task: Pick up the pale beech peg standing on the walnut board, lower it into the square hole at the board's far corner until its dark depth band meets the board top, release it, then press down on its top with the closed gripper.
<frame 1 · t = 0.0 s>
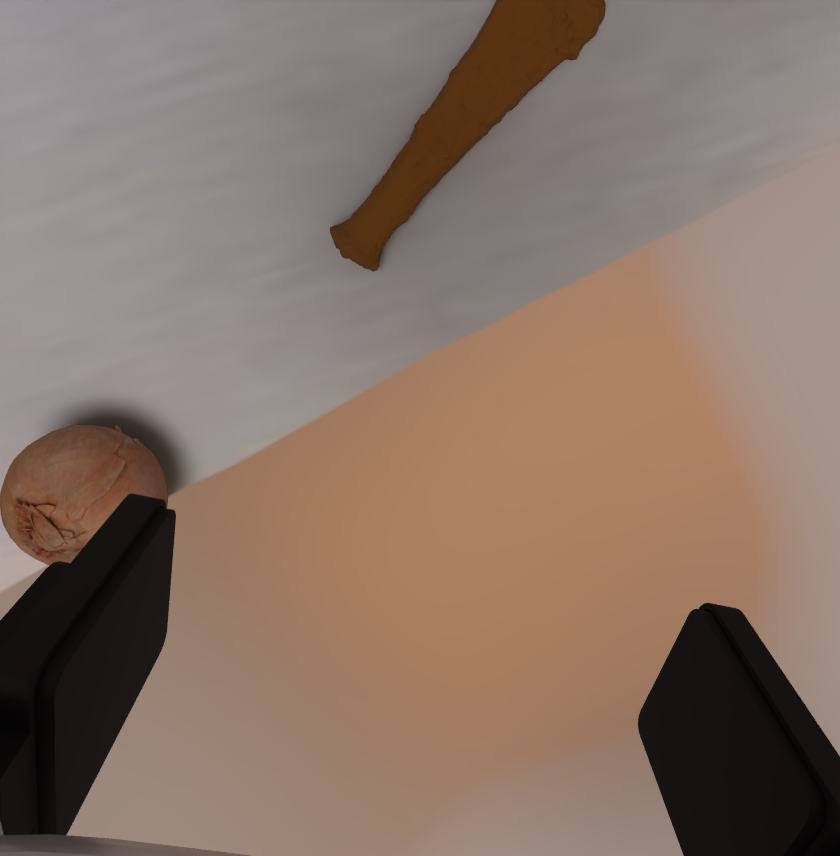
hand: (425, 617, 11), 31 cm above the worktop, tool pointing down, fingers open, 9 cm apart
primitive tool: (453, 115, 37), on the worktop
onion: (122, 461, 46), on the worktop
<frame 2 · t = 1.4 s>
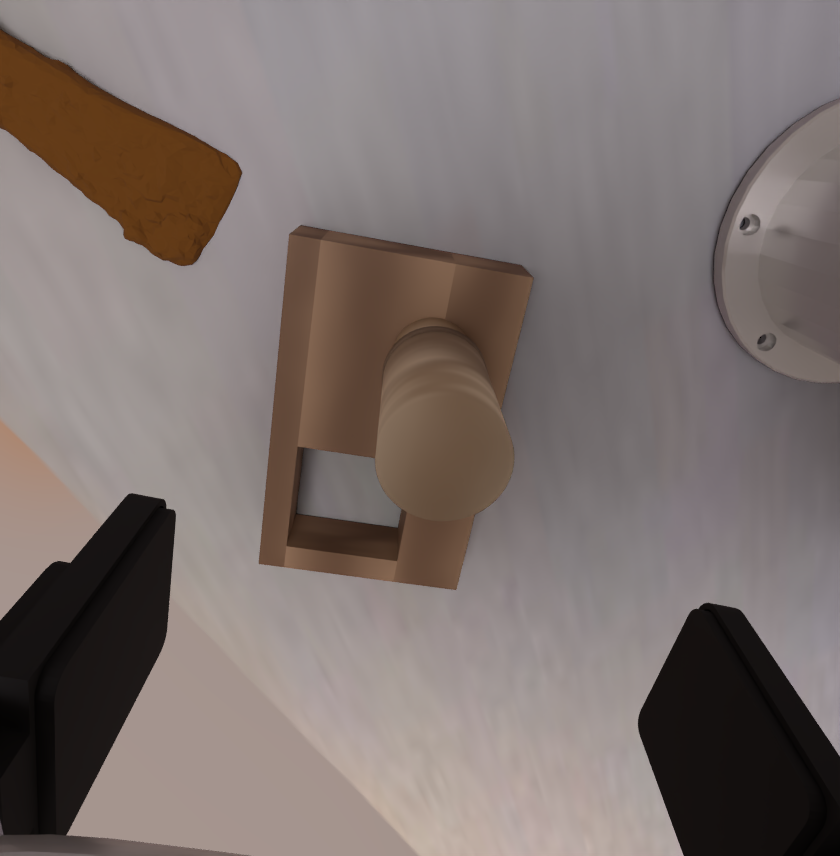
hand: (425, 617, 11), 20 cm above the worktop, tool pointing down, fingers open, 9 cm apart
peg: (431, 356, 28), point 3 cm above the worktop, touching board
primitive tool: (25, 76, 26), on the worktop
board: (385, 409, 32), on the worktop
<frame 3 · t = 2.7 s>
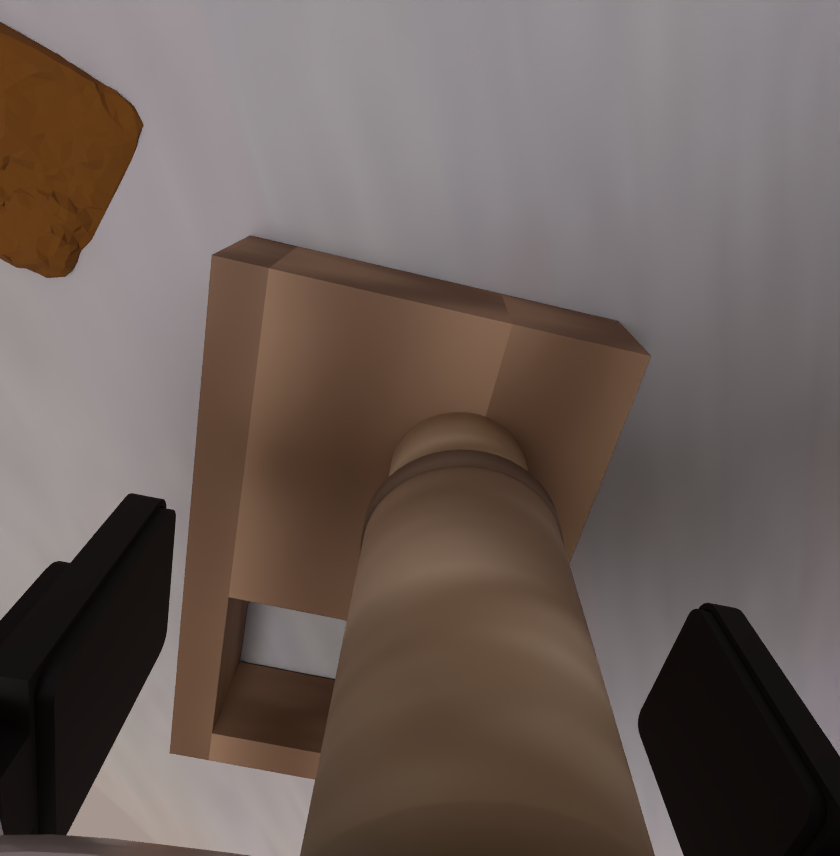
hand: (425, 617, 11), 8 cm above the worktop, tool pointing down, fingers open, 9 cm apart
peg: (458, 474, 16), point 3 cm above the worktop, touching board
board: (379, 527, 20), on the worktop
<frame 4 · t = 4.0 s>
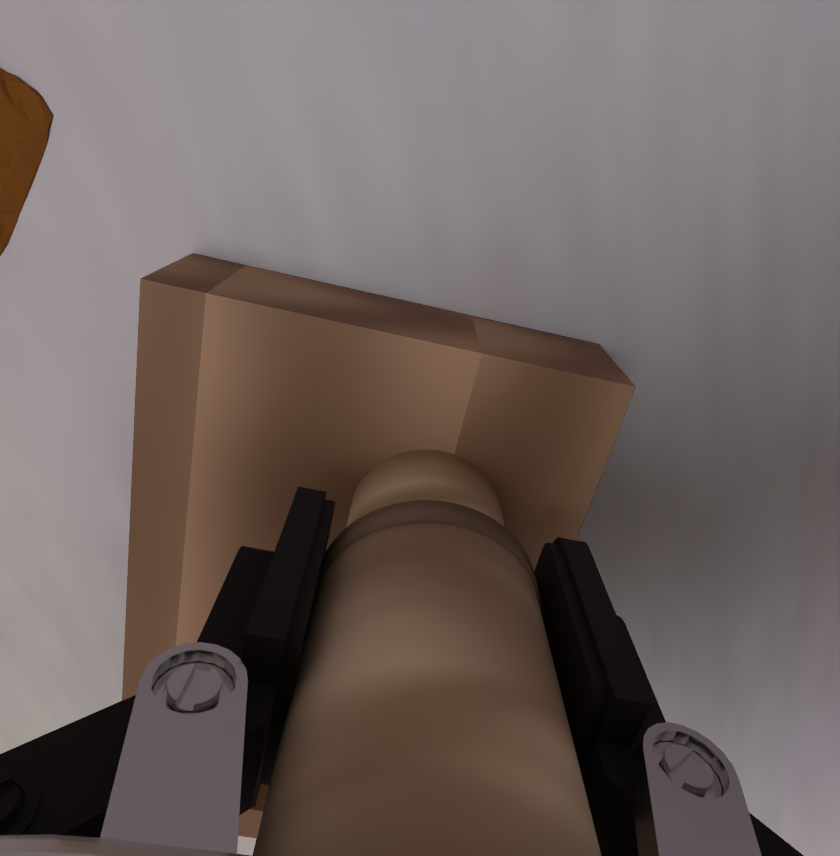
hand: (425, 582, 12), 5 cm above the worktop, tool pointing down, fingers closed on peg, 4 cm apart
peg: (425, 517, 14), point 3 cm above the worktop, touching board, gripper
board: (344, 566, 19), on the worktop
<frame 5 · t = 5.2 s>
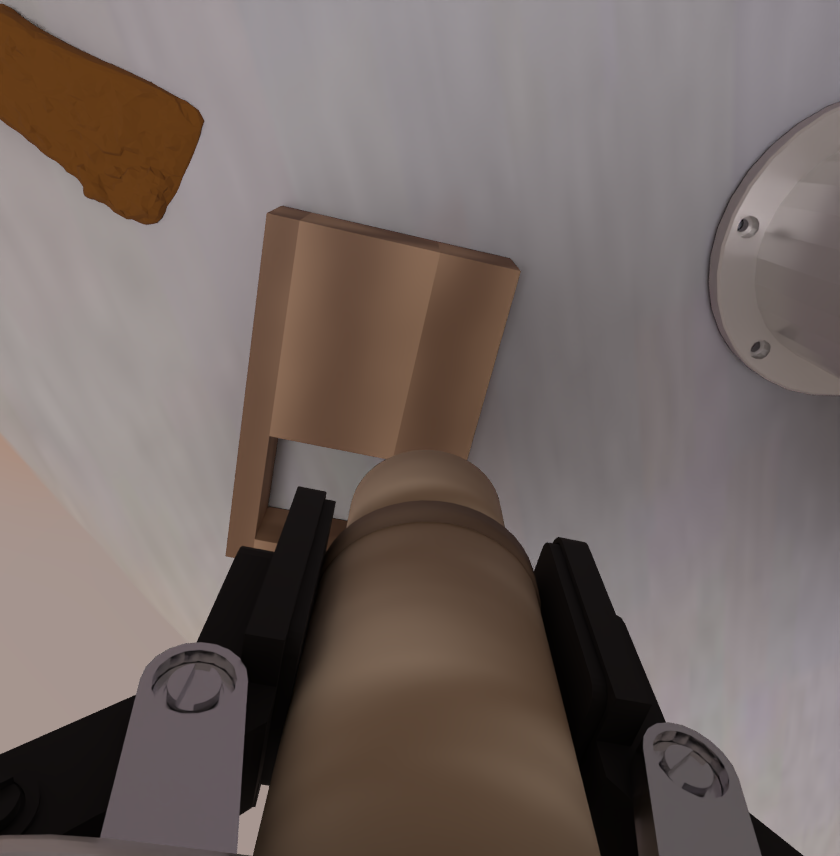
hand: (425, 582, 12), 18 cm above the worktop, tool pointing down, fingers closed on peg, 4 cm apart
peg: (425, 517, 14), point 16 cm above the worktop, touching gripper
board: (363, 401, 31), on the worktop
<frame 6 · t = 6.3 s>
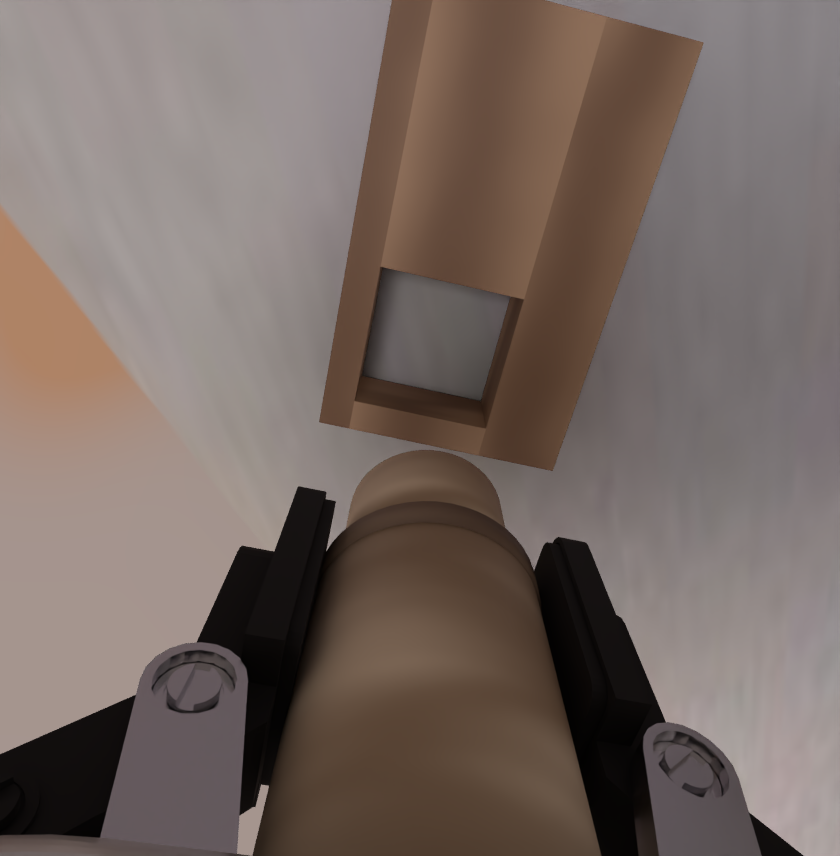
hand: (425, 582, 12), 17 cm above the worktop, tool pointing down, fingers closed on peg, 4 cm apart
peg: (425, 518, 14), point 15 cm above the worktop, touching gripper
board: (481, 243, 26), on the worktop
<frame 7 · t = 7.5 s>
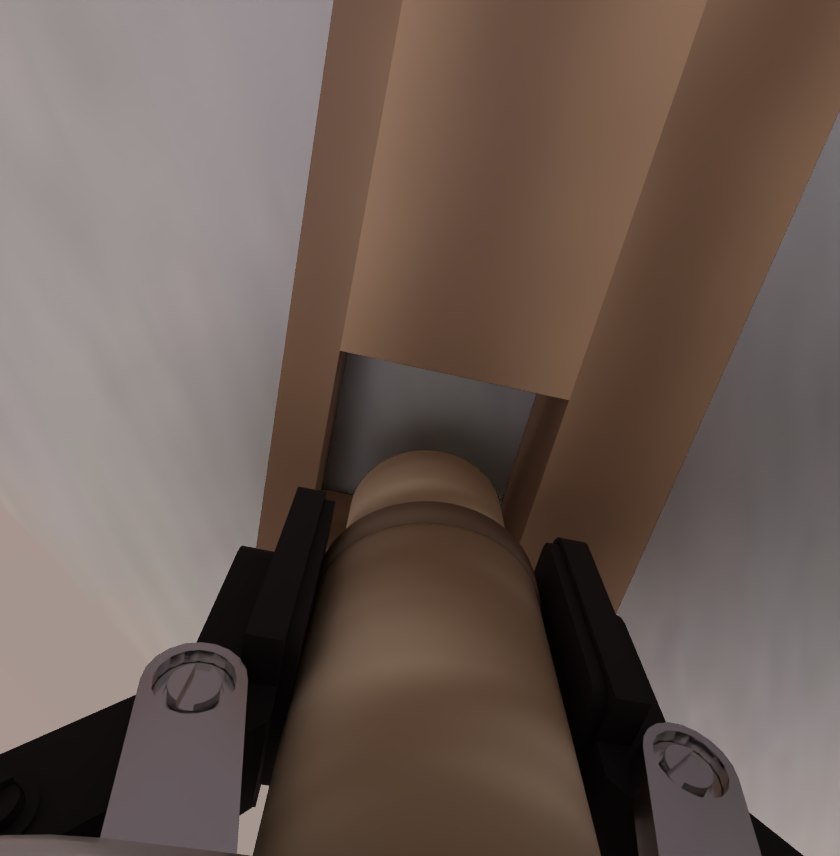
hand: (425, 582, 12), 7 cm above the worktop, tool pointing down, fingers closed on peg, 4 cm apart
peg: (425, 517, 14), point 5 cm above the worktop, touching gripper
board: (498, 303, 17), on the worktop
when the fingers open (4 cm above the worktop, at t = 8.8 s): peg drops 1 cm, resting in board.
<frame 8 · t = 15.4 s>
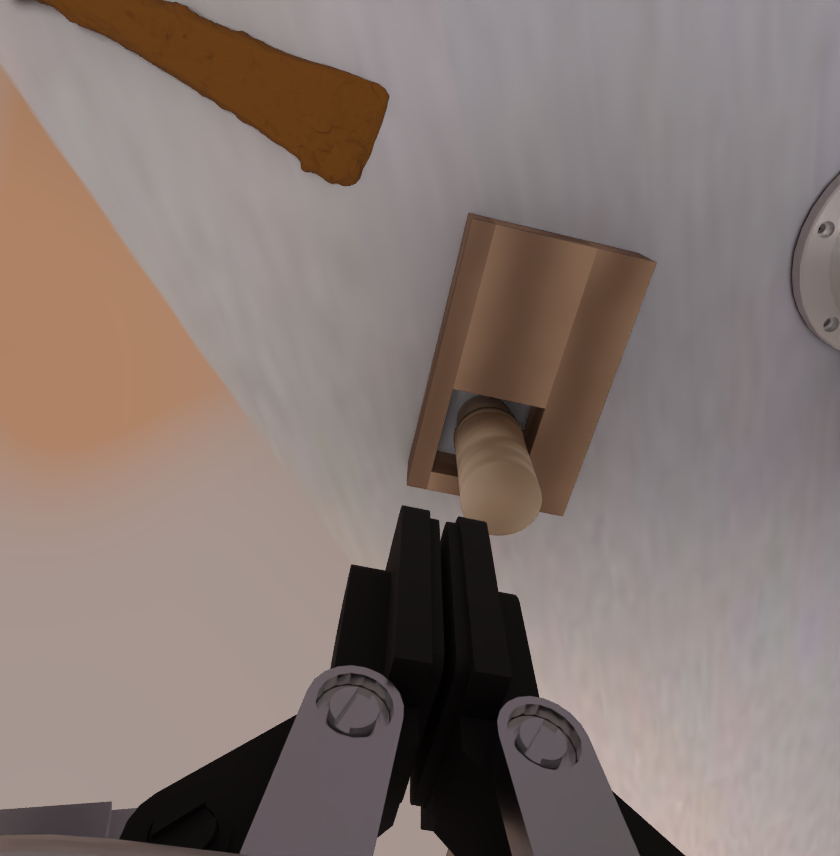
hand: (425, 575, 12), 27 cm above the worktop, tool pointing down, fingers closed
peg: (484, 420, 41), resting in board
primitive tool: (213, 52, 33), on the worktop
board: (515, 365, 39), on the worktop
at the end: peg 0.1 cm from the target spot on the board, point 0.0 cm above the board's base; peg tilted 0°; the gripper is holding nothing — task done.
